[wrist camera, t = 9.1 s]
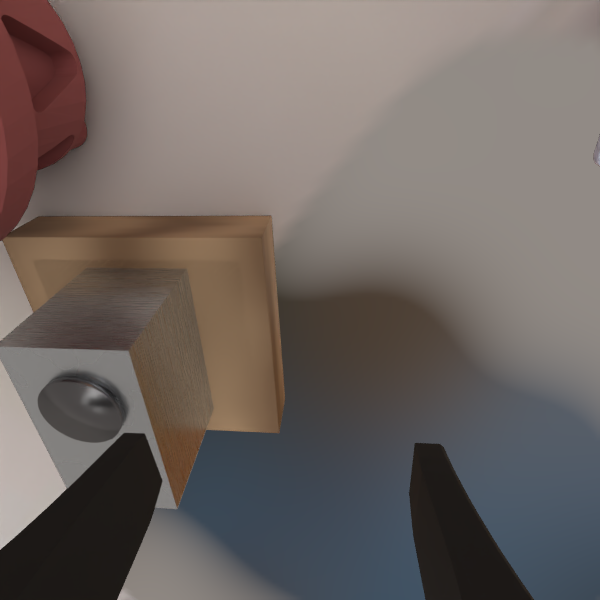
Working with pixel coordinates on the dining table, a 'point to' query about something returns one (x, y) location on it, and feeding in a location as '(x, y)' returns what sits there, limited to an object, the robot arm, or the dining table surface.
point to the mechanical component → (35, 101)
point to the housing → (115, 371)
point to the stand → (204, 286)
